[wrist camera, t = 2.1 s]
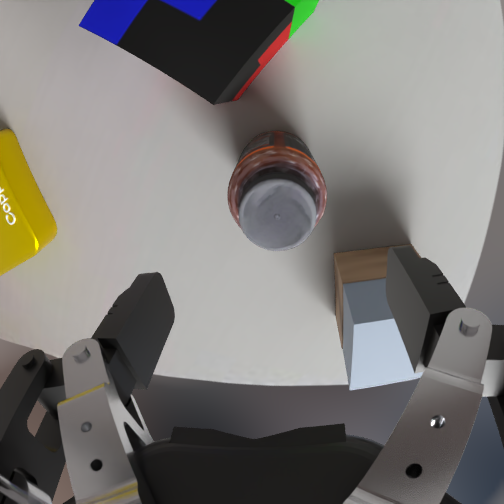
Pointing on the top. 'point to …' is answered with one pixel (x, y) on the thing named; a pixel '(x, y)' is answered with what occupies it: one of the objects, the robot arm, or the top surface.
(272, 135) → the supplement bottle
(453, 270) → the top surface
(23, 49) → the top surface
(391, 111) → the top surface
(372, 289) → the tower top block
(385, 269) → the tower base block
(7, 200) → the element tile
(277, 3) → the puzzle toy
